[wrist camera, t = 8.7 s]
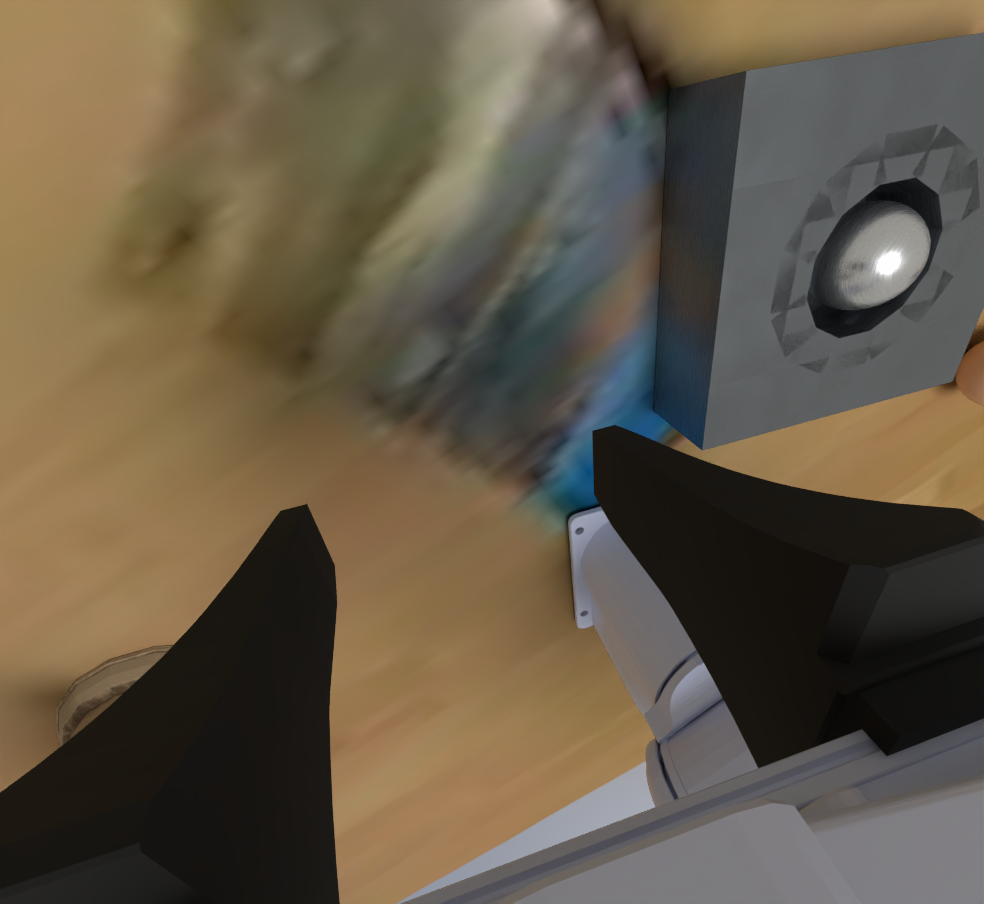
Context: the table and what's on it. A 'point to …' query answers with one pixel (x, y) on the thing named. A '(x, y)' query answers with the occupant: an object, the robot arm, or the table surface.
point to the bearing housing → (815, 235)
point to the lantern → (102, 689)
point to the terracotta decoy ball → (972, 374)
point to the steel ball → (870, 256)
